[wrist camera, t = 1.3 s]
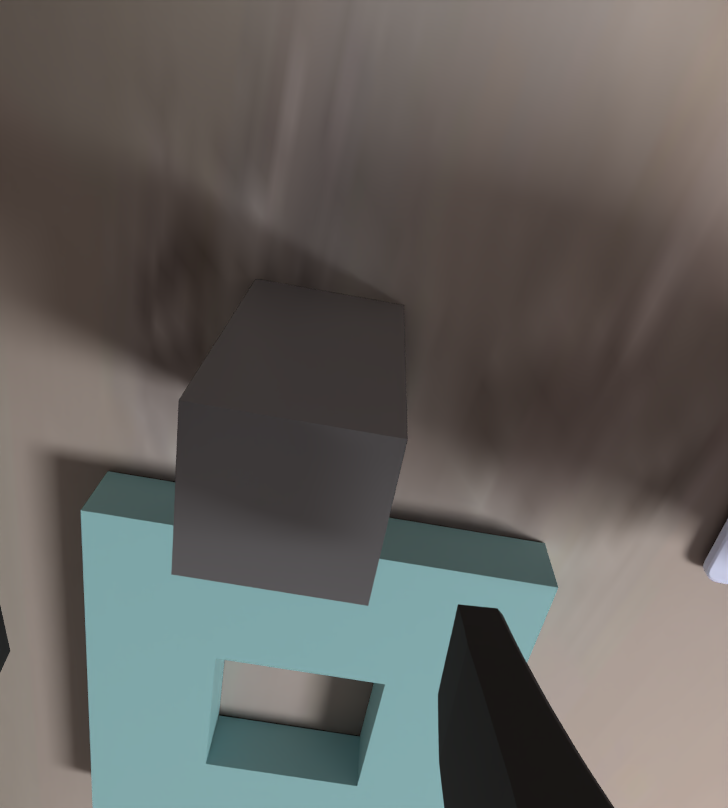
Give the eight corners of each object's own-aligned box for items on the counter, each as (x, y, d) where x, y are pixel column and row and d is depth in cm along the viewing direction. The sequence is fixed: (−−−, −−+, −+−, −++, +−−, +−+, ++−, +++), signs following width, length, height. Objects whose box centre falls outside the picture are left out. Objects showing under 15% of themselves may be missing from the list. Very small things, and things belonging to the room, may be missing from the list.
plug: (403, 305, 18) (407, 439, 11) (377, 431, 20) (368, 605, 13) (255, 278, 17) (178, 400, 11) (243, 409, 19) (171, 574, 13)
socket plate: (544, 543, 21) (557, 587, 19) (435, 826, 29) (437, 877, 27) (107, 471, 21) (80, 510, 19) (112, 779, 28) (93, 828, 26)
